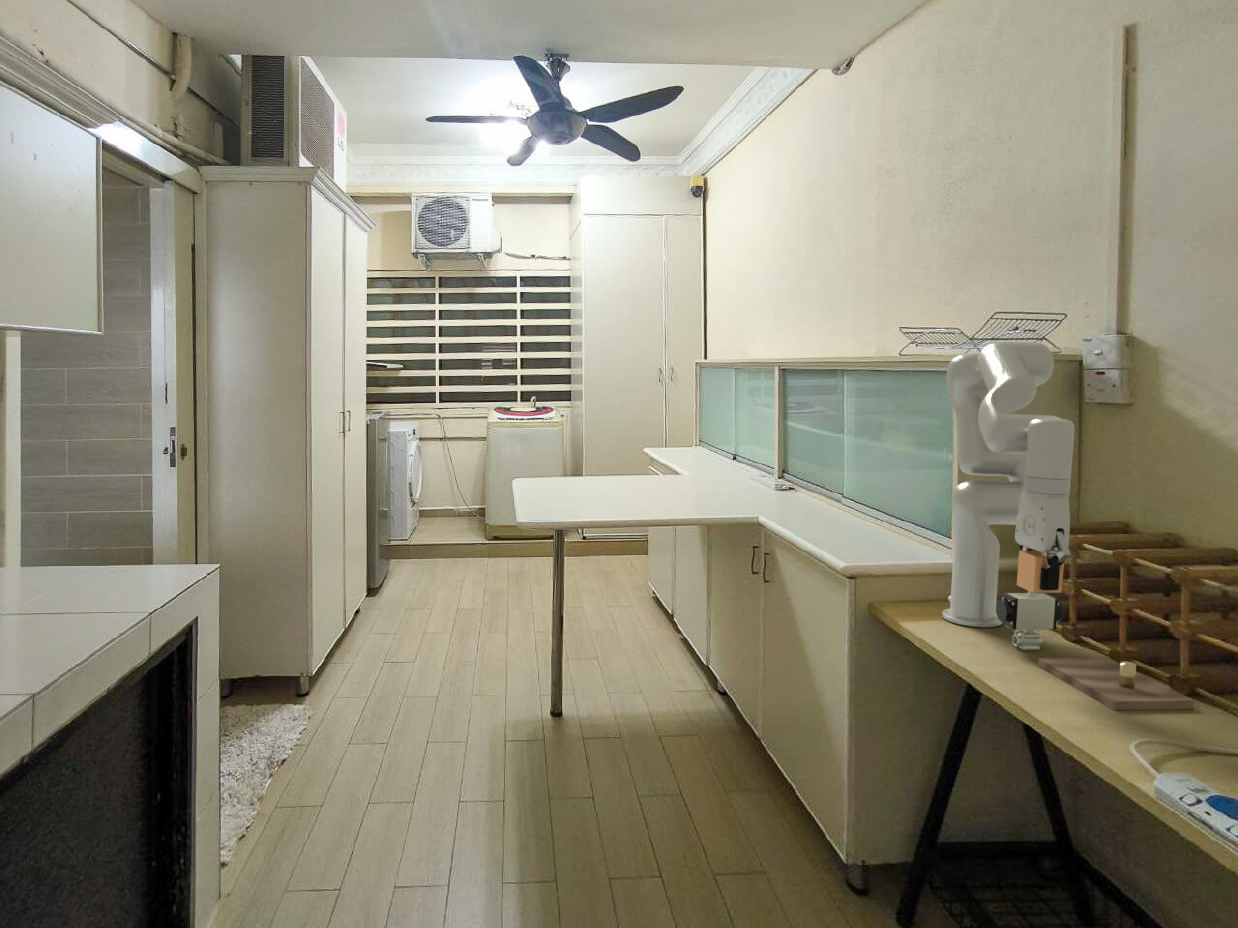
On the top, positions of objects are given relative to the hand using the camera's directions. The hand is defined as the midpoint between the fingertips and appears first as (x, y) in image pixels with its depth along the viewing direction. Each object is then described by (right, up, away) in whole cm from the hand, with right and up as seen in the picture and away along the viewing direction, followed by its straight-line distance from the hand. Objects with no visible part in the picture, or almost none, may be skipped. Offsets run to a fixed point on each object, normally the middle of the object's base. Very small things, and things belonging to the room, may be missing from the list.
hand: (1039, 584), depth 159 cm
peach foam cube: (0, -1, 0) cm, 1 cm away
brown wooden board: (+11, -18, -3) cm, 21 cm away
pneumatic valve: (+6, -16, +18) cm, 25 cm away
